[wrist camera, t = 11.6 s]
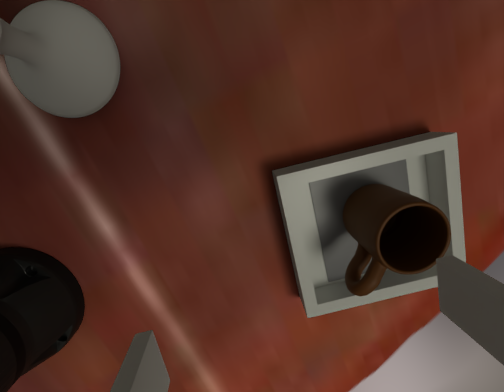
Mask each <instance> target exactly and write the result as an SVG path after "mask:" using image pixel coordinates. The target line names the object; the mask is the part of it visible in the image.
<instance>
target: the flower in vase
mask: <svg viewBox="0 0 504 392" xmlns="http://www.w3.org/2000/svg"><path fill="white" fill-rule="evenodd" d="M0 54H2V55H4V56H5V62H6V66H7V69H8V72H9V74H10V76H11V78H12V80H13V82H14V84H15V85H16V87H17V88H18V89H19V91H20V92H21V93H22V94H23V95H24V96H25V97H26V98H27V99H28V100H29V101H31V102H32V103H33V104H34V105H36V106H37V107H39V108H40V109H42V110H44V111H46V112H48V113H50V114H53V115H56V116H60V117H65V118H79V117H84V116H87V115H91V114H93V113H95V112H97V111H98V110H100V109H101V108H103V107H104V106H105V105H106V104H107V103H108V102H109V100H110V99H111V98H112V96H113V94H114V93H115V91H116V88H117V86H118V82H119V78H120V58H119V53H118V49H117V46H116V44H115V41H114V39H113V37H112V35H111V33H110V32H109V31H108V29H107V28H106V26H105V25H104V24H103V23H102V22H101V21H100V20H99V19H98V18H97V17H96V16H95V15H94V14H92V13H91V12H90V11H88V10H87V9H85V8H83V7H81V6H79V5H76V4H74V3H70V2H66V1H59V0H47V1H40V2H37V3H34V4H31V5H29V6H27V7H26V8H24V9H23V10H21V11H20V12H19V13H18V14H17V15H16V16H15V18H14V19H13V20H12V22H11V24H8V23H7V22H5V21H4V20H3V19H1V18H0Z"/></svg>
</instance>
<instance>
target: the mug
mask: <svg viewBox="0 0 504 392" xmlns="http://www.w3.org/2000/svg"><path fill="white" fill-rule="evenodd" d="M343 222H344V225H345V228H346V230H347V231H348V233H349V234H350V235H351V236H352V237H353V238H354V239H355V240H356V241H357V242H358V247H357V250H356V252H355V255H354V257H353V258H352V259H351V261H350V262H349V264H348V266H347V269H346V273H345V284H346V286H347V289H348V290H349V291H350V292H351V293H352V294H354V295H357V296H366V295H368V294H370V293H371V292H373V291H374V290H375V289H376V288H377V287H378V285H379V284H380V282H381V279H382V277H383V275H384V273H385V271H386V269H387V268H388V269H389V270H391V271H393V272H396V273H399V274H406V275H411V274H417V273H421V272H424V271H426V270H428V269H430V268H431V267H433V266H434V265H436V259H437V258H441V257H443V256H444V255H445V253H446V251H447V249H448V247H449V244H450V240H451V227H450V223H449V221H448V219H447V217H446V215H445V214H444V213H443V211H441V210H440V209H439V208H438V207H436V206H435V205H433V204H431V203H429V202H427V201H425V200H423V199H421V198H419V197H416V196H414V195H411V194H408V193H406V192H403V191H400V190H398V189H395V188H392V187H390V186H386V185H383V184H369V185H365V186H362V187H360V188H359V189H357V190H356V191H354V192H353V193H352V194H351V195H350V196H349V198H348V199H347V201H346V203H345V205H344V209H343ZM371 258H372V260H371ZM370 260H371V262H370ZM369 262H370V264H369V266H368V268H367V270H366V272H365V274H364V276H363V278H362V279H361V274H362V272H363V270H364V269H365V267H366V266H367V265H368V263H369Z"/></svg>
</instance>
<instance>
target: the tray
mask: <svg viewBox="0 0 504 392" xmlns="http://www.w3.org/2000/svg"><path fill="white" fill-rule="evenodd" d="M272 175H273V179H274V184H275V188H276V192H277V197H278V201H279V206H280V210H281V215H282V219H283V224H284V228H285V233H286V237H287V242H288V246H289V251H290V255H291V259H292V264H293V268H294V273H295V277H296V282H297V286H298V291H299V295H300V299H301V301H302V304H303V307H304V309H305V312H306V315H307V317H308V318H310V317H315V316H319V315H323V314H327V313H331V312H335V311H339V310H343V309H347V308H352V307H356V306H360V305H364V304H368V303H372V302H376V301H380V300H385V299H389V298H393V297H397V296H401V295H405V294H409V293H413V292H418V291H422V290H426V289H430V288H434V287H438V279H437V266H436V265H434V266H433V267H431V268H430V269H428V270H426V271H424V272H421V273H417V274H411V275H406V274H399V273H396V272H393V271H391V270H389V269H388V268H387V269H386V271H385V273H384V275H383V277H382V279H381V282H380V284H379V285H378V287H377V288H376V289H375V290H374V291H373V292H371V293H370V294H368V295H366V296H357V295H354V294H352V293H351V292H350V291H349V290H348V289H347V286H346V284H345V273H346V269H347V266H348V264H349V262H350V261H351V259H352V258H353V257H354V255H355V252H356V250H357V247H358V242H357V241H356V240H355V239H354V238H353V237H352V236H351V235H350V234H349V233H348V231H347V230H346V228H345V225H344V222H343V209H344V205H345V203H346V201H347V199H348V198H349V196H350V195H351V194H352V193H353V192H354V191H356V190H357V189H359V188H360V187H362V186H365V185H369V184H383V185H386V186H390V187H392V188H395V189H398V190H400V191H403V192H406V193H408V194H411V195H414V196H416V197H419V198H421V199H423V200H425V201H427V202H429V203H431V204H433V205H435V206H436V207H438V208H439V209H440V210H441V211H443V213H444V214H445V215H446V217H447V219H448V221H449V223H450V227H451V240H450V244H449V247H448V249H447V251H446V253H445V255H444V256H443V257H445V256H449V255H453V256H455V257H457V258H458V259H460V260H462V261H464V262H465V263H466V256H465V242H464V228H463V214H462V199H461V185H460V171H459V157H458V143H457V133H451V132H428V133H424V134H420V135H416V136H412V137H407V138H403V139H399V140H395V141H391V142H387V143H383V144H379V145H375V146H371V147H367V148H362V149H358V150H354V151H350V152H346V153H342V154H338V155H334V156H330V157H326V158H322V159H317V160H313V161H309V162H305V163H301V164H297V165H293V166H289V167H285V168H281V169H276V170H272ZM371 260H372V258H371ZM371 260H370V262H371ZM370 262H369V263H368V265H367V266H366V267H365V269H364V270H363V272H362V274H361V279H362V278H363V276H364V274H365V272H366V270H367V268H368V266H369V264H370Z"/></svg>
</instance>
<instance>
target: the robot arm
mask: <svg viewBox="0 0 504 392" xmlns="http://www.w3.org/2000/svg"><path fill="white" fill-rule="evenodd" d="M436 266H437V279H438V292H439V305H440V311H441V312H442V313H443V314H444V315H446V316H447V317H448V318H449V319H450V320H451V321H453V322H454V323H455V324H456V325H457V326H458V327H460V328H461V329H462V330H463V331H464V332H466V333H467V334H468V335H469V336H470V337H471V338H473V339H474V340H475V341H476V342H477V343H478V344H479V345H481V346H482V347H483V348H484V349H485V350H486V351H488V352H489V353H490V354H491V355H493V356H494V357H495V358H496V359H497V360H498V361H499V362H500V363H502V364H503V365H504V284H502V283H501V282H499V281H497V280H495V279H494V278H492V277H490V276H488V275H487V274H485V273H483V272H481V271H480V270H478V269H476V268H474V267H472V266H471V265H469V264H467V263H465V262H464V261H462V260H460V259H458V258H457V257H455V256H453V255H449V256H445V257H441V258H437V259H436ZM84 308H85V306H84V297H83V293H82V290H81V288H80V286H79V284H78V282H77V280H76V279H75V277H74V276H73V275H72V273H71V272H70V271H69V270H68V269H67V268H66V267H65V266H64V265H62V264H61V263H60V262H58V261H57V260H55V259H54V258H52V257H50V256H48V255H46V254H44V253H41V252H38V251H35V250H31V249H26V248H4V249H0V392H7V391H8V390H9V389H10V387H11V386H12V385H13V384H14V383H15V382H16V381H17V380H18V378H19V377H21V376H22V375H24V374H25V373H27V372H28V371H30V370H31V369H33V368H34V367H36V366H37V365H39V364H41V363H42V362H44V361H45V360H47V359H48V358H50V357H51V356H53V355H54V354H56V353H57V352H59V351H60V350H61V349H62V348H63V347H64V346H65V345H66V344H67V343H68V342H69V340H70V339H71V338H72V337H73V335H74V334H75V333H76V331H77V330H78V328H79V327H80V325H81V322H82V320H83V316H84ZM169 383H170V378H169V375H168V373H167V370H166V367H165V364H164V361H163V359H162V356H161V353H160V350H159V347H158V344H157V342H156V339H155V336H154V333H153V330H150V331H146V332H142V333H138V334H135V336H134V338H133V341H132V343H131V345H130V347H129V350H128V352H127V354H126V357H125V359H124V361H123V363H122V366H121V368H120V370H119V373H118V375H117V377H116V379H115V382H114V384H113V386H112V389H111V391H110V392H168V387H169Z"/></svg>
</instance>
